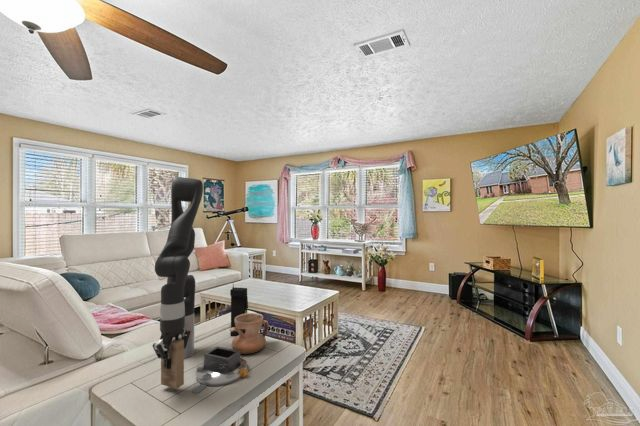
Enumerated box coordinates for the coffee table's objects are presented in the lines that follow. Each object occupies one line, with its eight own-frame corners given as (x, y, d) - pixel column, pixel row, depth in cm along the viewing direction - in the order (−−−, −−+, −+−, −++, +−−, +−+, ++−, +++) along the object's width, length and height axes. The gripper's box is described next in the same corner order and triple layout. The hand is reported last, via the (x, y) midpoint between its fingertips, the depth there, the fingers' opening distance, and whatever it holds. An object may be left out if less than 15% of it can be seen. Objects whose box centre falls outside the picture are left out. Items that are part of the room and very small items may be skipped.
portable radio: (250, 332, 149) (250, 282, 149) (244, 337, 143) (244, 285, 143) (235, 331, 151) (235, 281, 151) (229, 336, 145) (229, 284, 145)
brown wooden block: (160, 384, 101) (161, 339, 101) (168, 379, 103) (168, 336, 103) (176, 389, 98) (176, 343, 98) (183, 384, 101) (183, 339, 101)
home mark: (192, 392, 99) (192, 390, 99) (201, 385, 103) (201, 384, 103) (197, 393, 98) (197, 392, 98) (206, 387, 102) (206, 385, 102)
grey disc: (184, 379, 106) (185, 359, 106) (219, 357, 123) (219, 339, 123) (229, 391, 99) (229, 369, 99) (259, 366, 116) (259, 347, 116)
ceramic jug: (236, 362, 120) (236, 326, 120) (224, 349, 131) (224, 316, 131) (276, 349, 130) (276, 317, 131) (261, 338, 142) (261, 308, 142)
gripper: (181, 307, 108) (180, 355, 109) (145, 320, 96) (145, 374, 96) (197, 310, 106) (196, 359, 106) (162, 323, 93) (162, 379, 93)
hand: (172, 366), depth 101 cm, fingers closed on brown wooden block, 3 cm apart
